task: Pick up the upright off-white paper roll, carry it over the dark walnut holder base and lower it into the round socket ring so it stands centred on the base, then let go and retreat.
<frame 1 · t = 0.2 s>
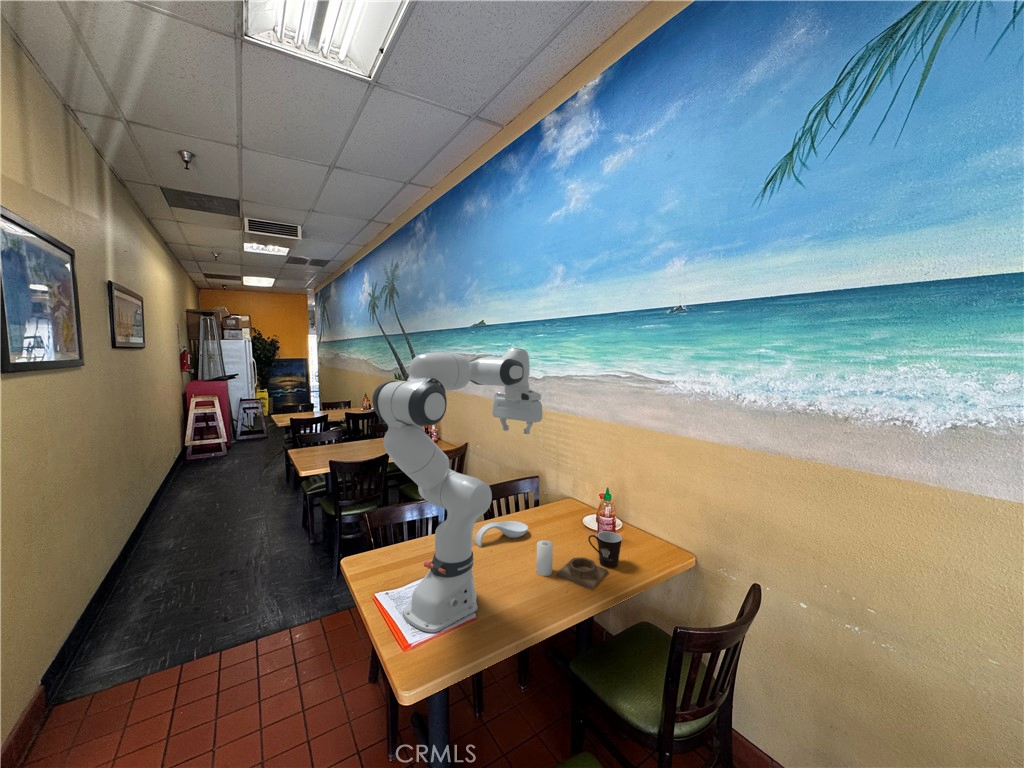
hand: (516, 432, 139), 47 cm above the table, fingers open, 8 cm apart
coffee mug: (605, 562, 141), on the table
holder: (582, 574, 132), on the table
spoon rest: (502, 539, 158), on the table
roll: (544, 571, 133), on the table
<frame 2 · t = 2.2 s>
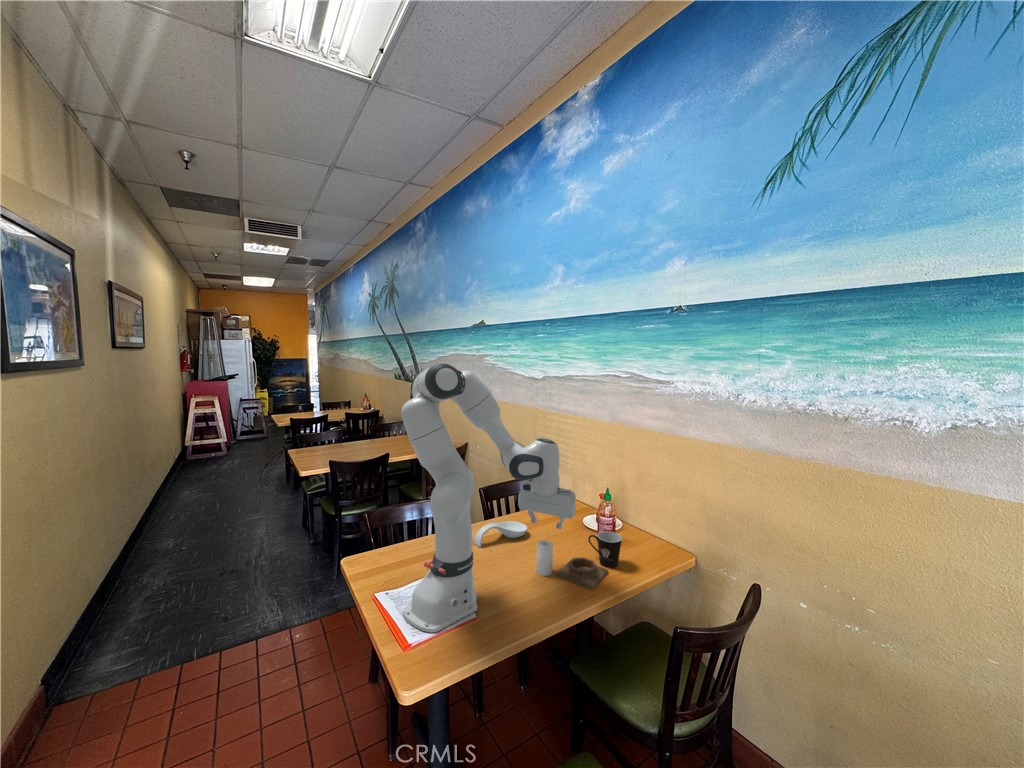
hand: (546, 525, 132), 17 cm above the table, fingers open, 8 cm apart
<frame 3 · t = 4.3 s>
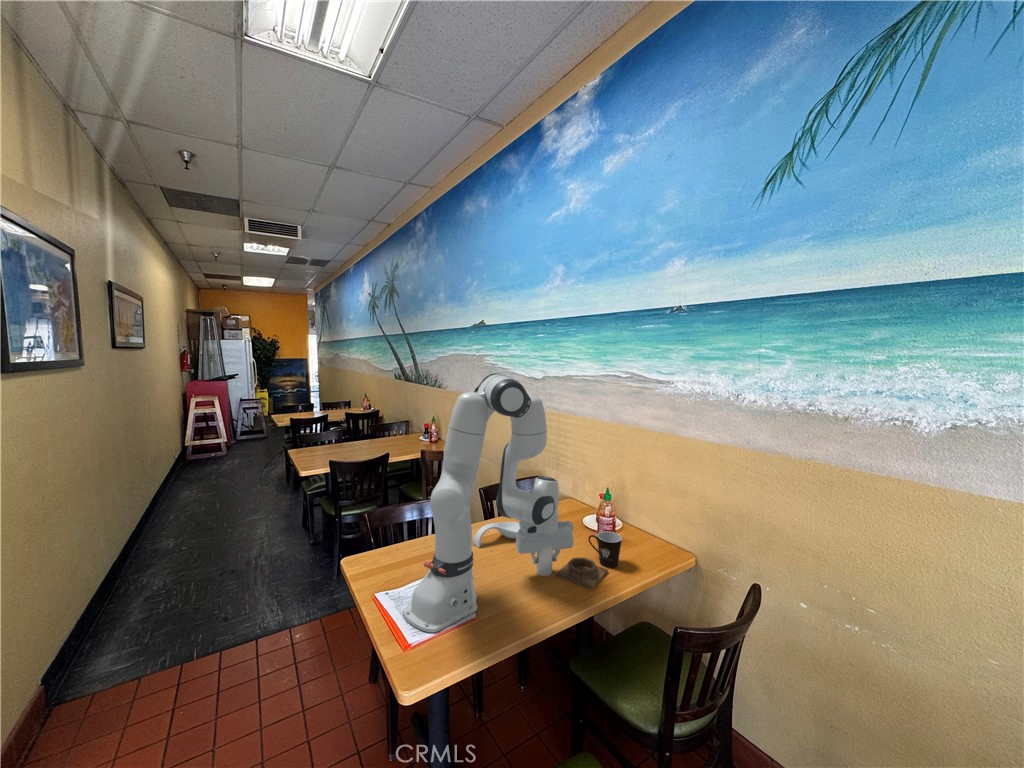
hand: (544, 561, 133), 4 cm above the table, fingers closed on roll, 5 cm apart
roll: (544, 571, 133), on the table, touching gripper
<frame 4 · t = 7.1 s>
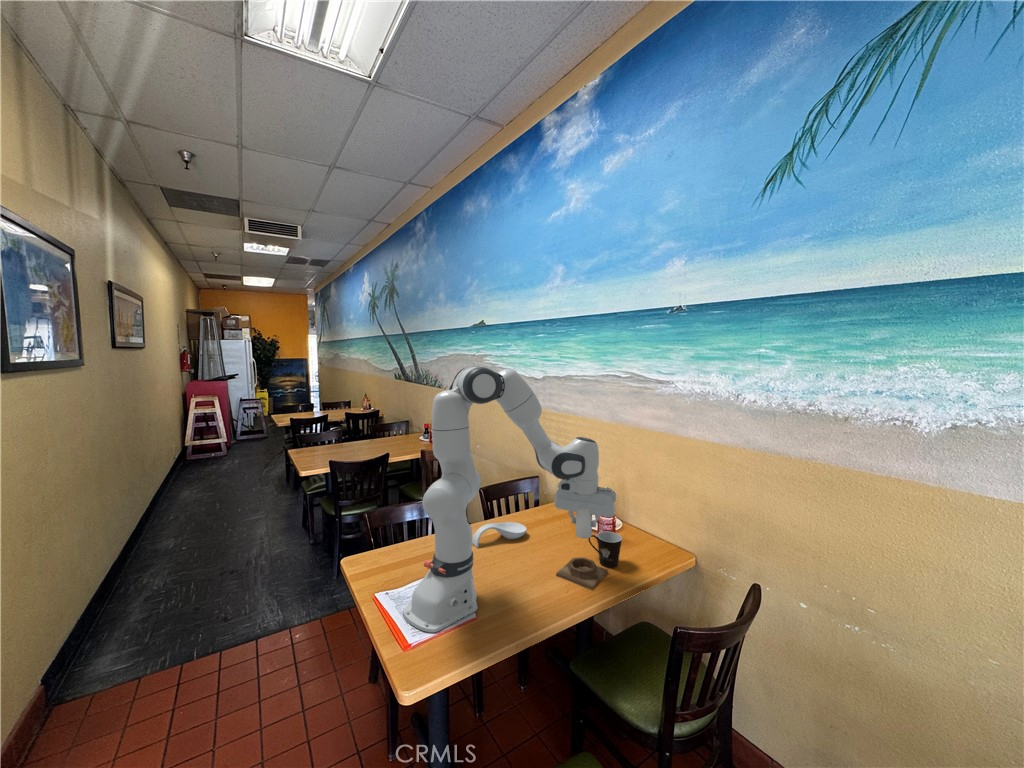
hand: (583, 524, 131), 17 cm above the table, fingers closed on roll, 5 cm apart
roll: (583, 534, 131), point 14 cm above the table, touching gripper
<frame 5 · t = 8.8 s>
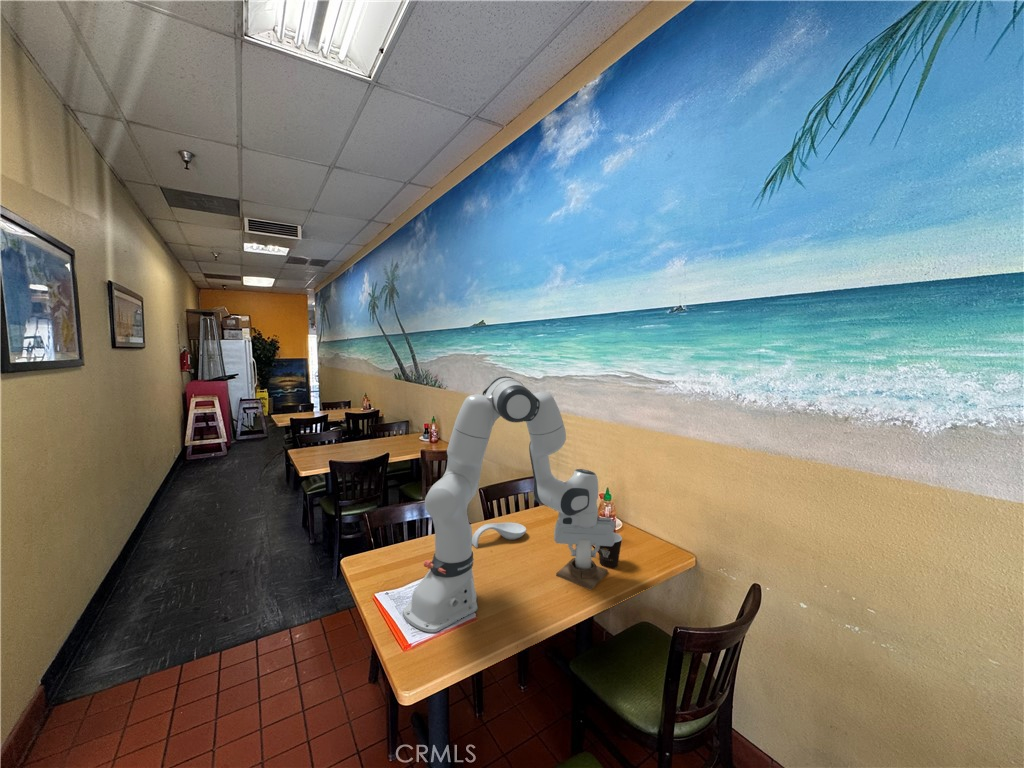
hand: (583, 556, 132), 7 cm above the table, fingers closed on roll, 5 cm apart
roll: (583, 566, 132), point 3 cm above the table, touching gripper
when the fingers open (6 cm above the table, at t = 9.9 s): roll stays where it is, resting on holder.
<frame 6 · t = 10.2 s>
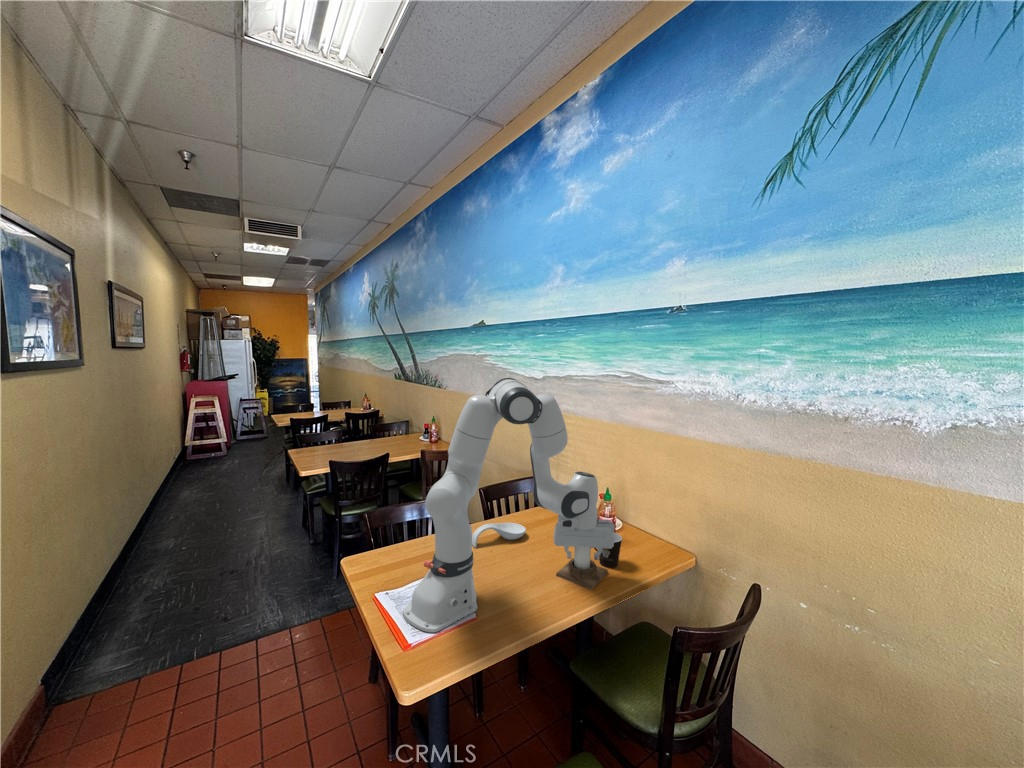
hand: (582, 558, 132), 6 cm above the table, fingers open, 8 cm apart
roll: (581, 571, 132), point 1 cm above the table, touching holder
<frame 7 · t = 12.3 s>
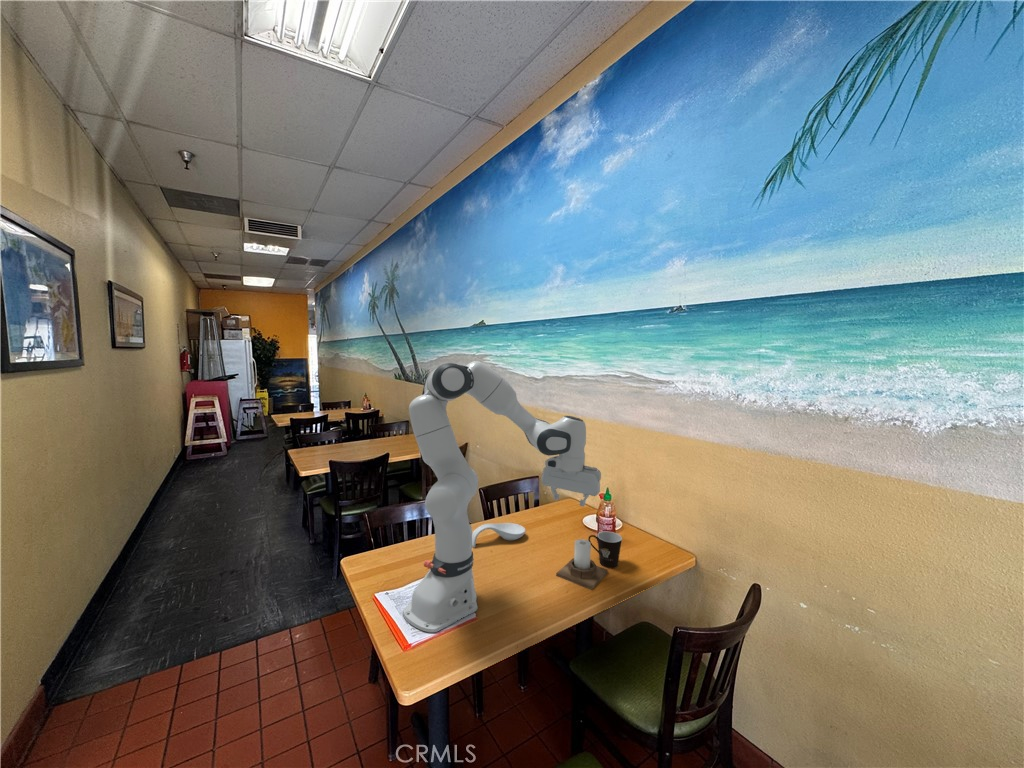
hand: (569, 502, 133), 24 cm above the table, fingers open, 8 cm apart
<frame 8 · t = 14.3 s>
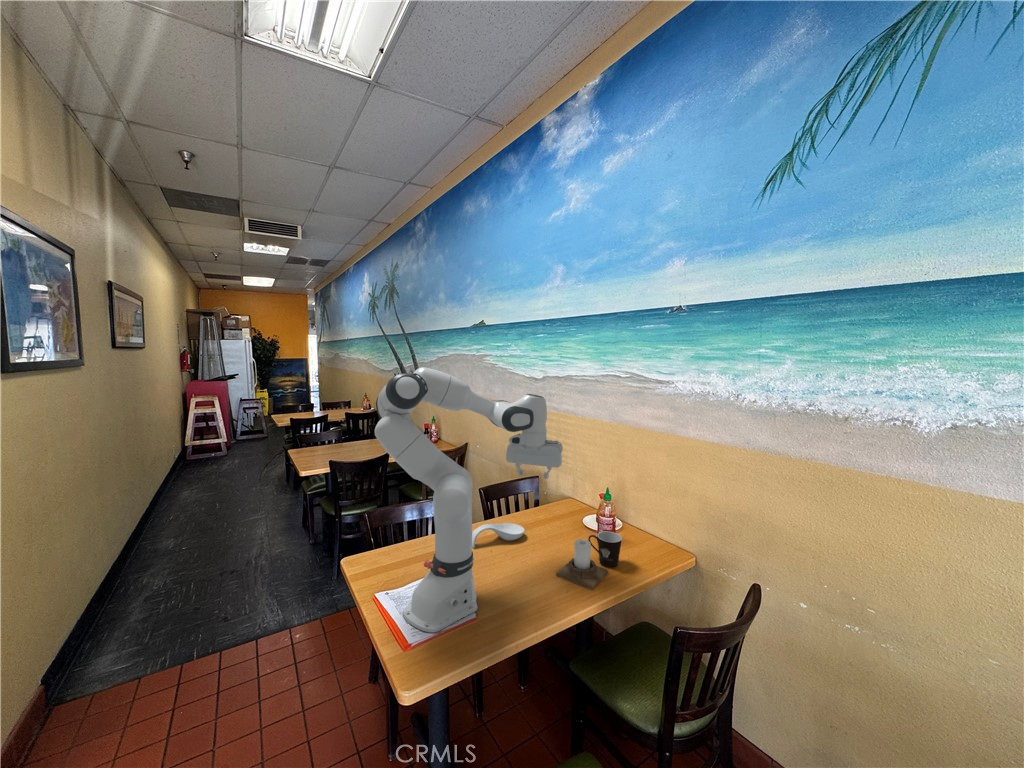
hand: (533, 476, 139), 31 cm above the table, fingers open, 8 cm apart
at the end: roll 0.1 cm off-centre on the holder, point 1.1 cm above the holder's base; roll tilted 0°; the gripper is holding nothing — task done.
